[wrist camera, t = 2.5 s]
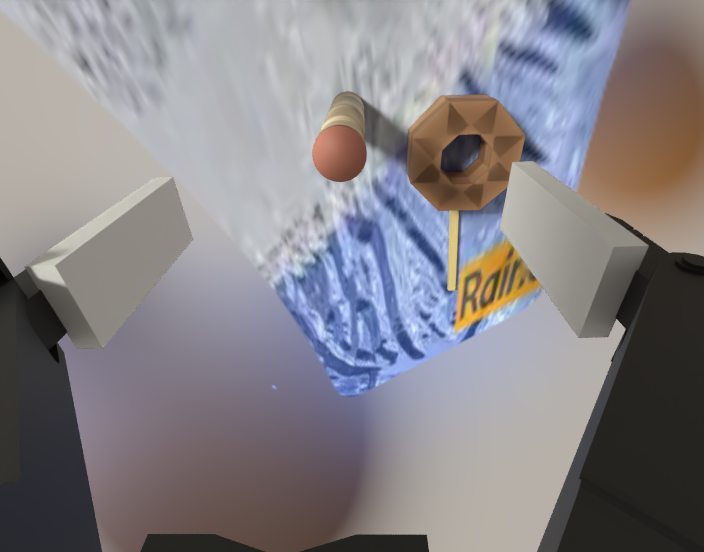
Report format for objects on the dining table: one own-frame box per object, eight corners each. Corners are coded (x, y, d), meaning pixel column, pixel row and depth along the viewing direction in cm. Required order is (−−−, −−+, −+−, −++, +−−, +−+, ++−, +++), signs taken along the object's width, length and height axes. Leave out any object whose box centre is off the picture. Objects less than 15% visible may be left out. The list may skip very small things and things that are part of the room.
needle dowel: (331, 128, 37) (314, 182, 23) (329, 91, 35) (309, 127, 21) (364, 127, 36) (366, 181, 23) (364, 90, 35) (366, 125, 21)
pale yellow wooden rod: (454, 287, 47) (455, 290, 47) (447, 288, 47) (448, 290, 47) (457, 208, 41) (458, 209, 41) (449, 209, 41) (450, 210, 41)
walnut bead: (405, 196, 40) (408, 211, 37) (410, 96, 35) (415, 103, 31) (496, 194, 40) (509, 209, 37) (516, 93, 34) (533, 99, 31)
